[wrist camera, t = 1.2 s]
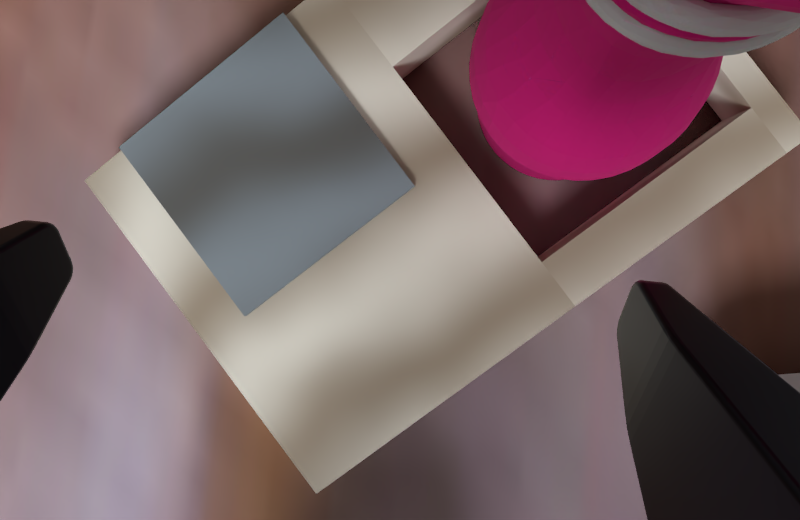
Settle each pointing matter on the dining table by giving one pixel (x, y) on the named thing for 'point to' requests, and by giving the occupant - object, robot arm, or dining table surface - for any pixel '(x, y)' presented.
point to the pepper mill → (605, 76)
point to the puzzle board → (377, 223)
